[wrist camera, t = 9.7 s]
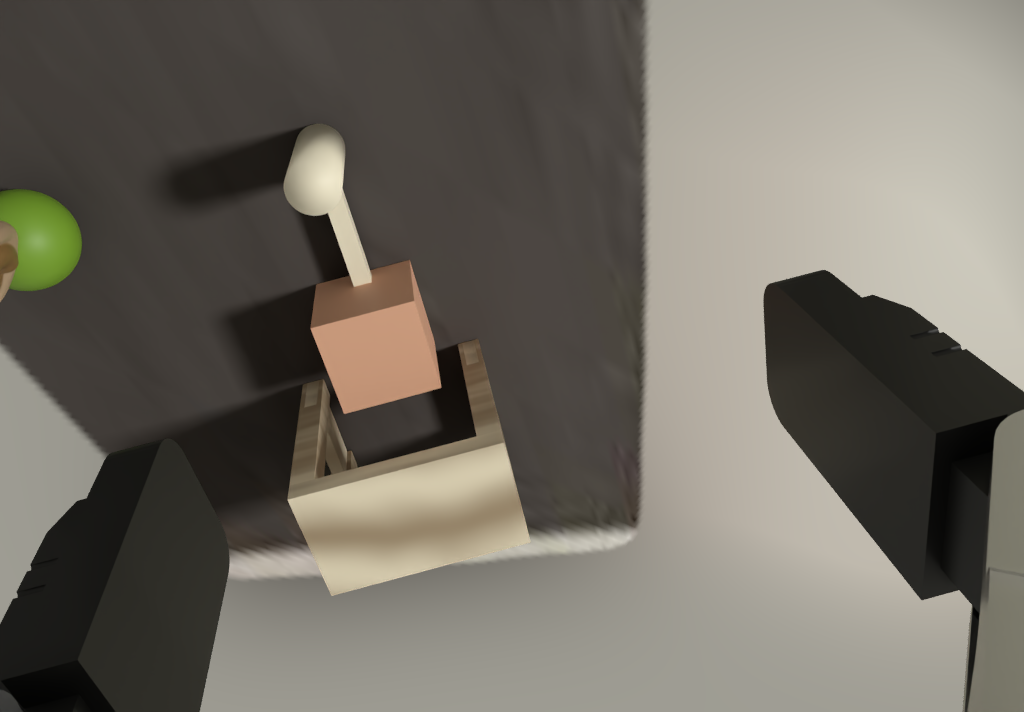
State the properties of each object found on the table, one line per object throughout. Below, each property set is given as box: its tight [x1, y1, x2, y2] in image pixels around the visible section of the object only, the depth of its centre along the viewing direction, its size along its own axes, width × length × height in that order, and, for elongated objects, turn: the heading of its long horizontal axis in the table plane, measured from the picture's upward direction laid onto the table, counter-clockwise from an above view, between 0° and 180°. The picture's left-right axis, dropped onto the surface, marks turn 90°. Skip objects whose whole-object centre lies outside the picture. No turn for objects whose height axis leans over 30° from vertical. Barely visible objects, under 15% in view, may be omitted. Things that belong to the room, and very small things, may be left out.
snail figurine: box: [0, 189, 82, 302], centre depth 40 cm, size 5×6×12 cm
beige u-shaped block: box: [287, 339, 530, 596], centre depth 50 cm, size 8×12×12 cm, turn 102°
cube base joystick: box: [284, 124, 441, 414], centre depth 46 cm, size 15×6×8 cm, turn 12°
